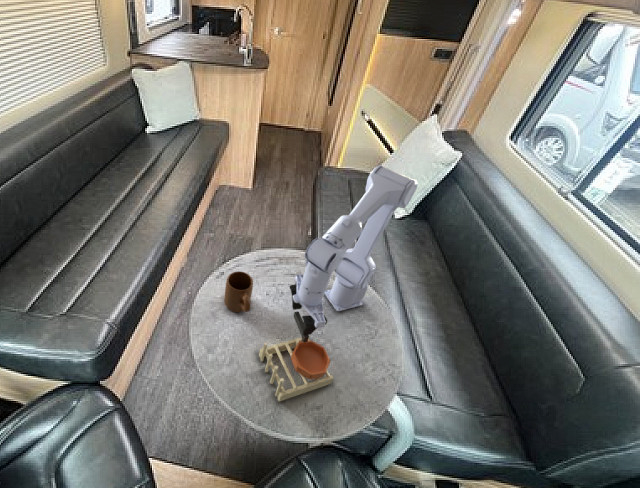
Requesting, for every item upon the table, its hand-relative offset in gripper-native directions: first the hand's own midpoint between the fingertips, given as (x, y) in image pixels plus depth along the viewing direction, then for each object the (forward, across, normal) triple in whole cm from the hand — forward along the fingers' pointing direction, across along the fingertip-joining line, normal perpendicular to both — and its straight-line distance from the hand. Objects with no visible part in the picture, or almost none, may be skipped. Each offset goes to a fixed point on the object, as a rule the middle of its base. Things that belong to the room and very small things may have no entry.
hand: (301, 320), depth 82 cm
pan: (+5, +5, 0) cm, 7 cm away
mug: (+8, -12, -13) cm, 20 cm away
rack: (+8, +8, -3) cm, 12 cm away
